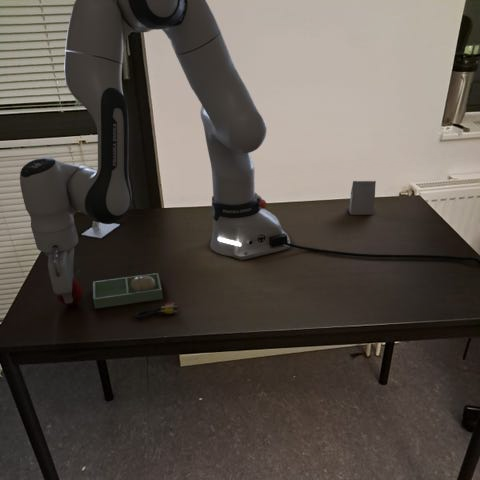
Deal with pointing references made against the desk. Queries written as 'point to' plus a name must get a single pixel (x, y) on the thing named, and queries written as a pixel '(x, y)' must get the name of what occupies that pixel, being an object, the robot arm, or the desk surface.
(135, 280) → the cream rounded lump
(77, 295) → the onion
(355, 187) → the grey rectangular block
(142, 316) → the composite cable
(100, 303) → the holder
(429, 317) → the desk surface
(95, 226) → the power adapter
